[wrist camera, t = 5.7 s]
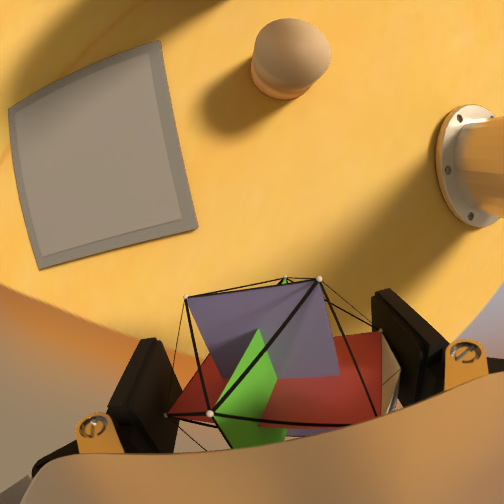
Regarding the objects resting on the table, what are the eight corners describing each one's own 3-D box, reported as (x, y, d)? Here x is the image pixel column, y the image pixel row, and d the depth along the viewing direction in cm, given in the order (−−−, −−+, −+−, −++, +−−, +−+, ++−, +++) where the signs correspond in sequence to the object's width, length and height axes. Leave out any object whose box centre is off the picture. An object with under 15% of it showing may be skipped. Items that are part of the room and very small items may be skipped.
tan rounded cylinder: (304, 42, 20) (320, 17, 15) (318, 95, 22) (339, 79, 17) (244, 49, 20) (247, 22, 15) (257, 104, 22) (264, 87, 17)
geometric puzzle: (180, 441, 11) (305, 557, 5) (101, 315, 10) (210, 455, 3) (292, 358, 15) (432, 407, 9) (253, 236, 13) (434, 239, 7)
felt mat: (160, 42, 20) (158, 39, 19) (198, 226, 24) (197, 228, 23) (11, 109, 19) (7, 109, 19) (42, 267, 24) (38, 269, 23)
